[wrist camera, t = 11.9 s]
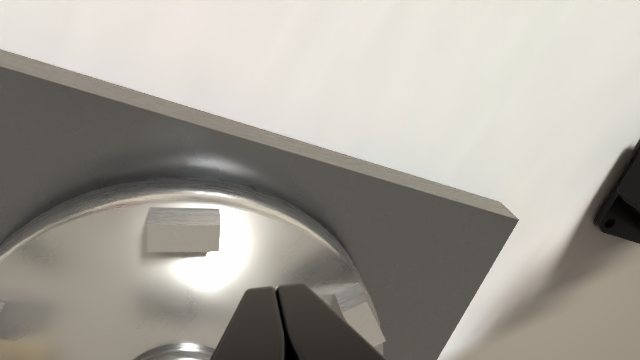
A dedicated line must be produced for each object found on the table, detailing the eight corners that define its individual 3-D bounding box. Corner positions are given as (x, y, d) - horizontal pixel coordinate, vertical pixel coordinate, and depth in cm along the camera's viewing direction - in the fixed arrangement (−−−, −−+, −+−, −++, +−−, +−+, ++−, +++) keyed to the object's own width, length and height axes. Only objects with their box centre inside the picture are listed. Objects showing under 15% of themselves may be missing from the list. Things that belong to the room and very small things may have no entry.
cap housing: (500, 202, 23) (521, 222, 22) (337, 489, 29) (345, 520, 28) (-111, 15, 16) (-143, 26, 14) (-159, 453, 22) (-184, 493, 20)
